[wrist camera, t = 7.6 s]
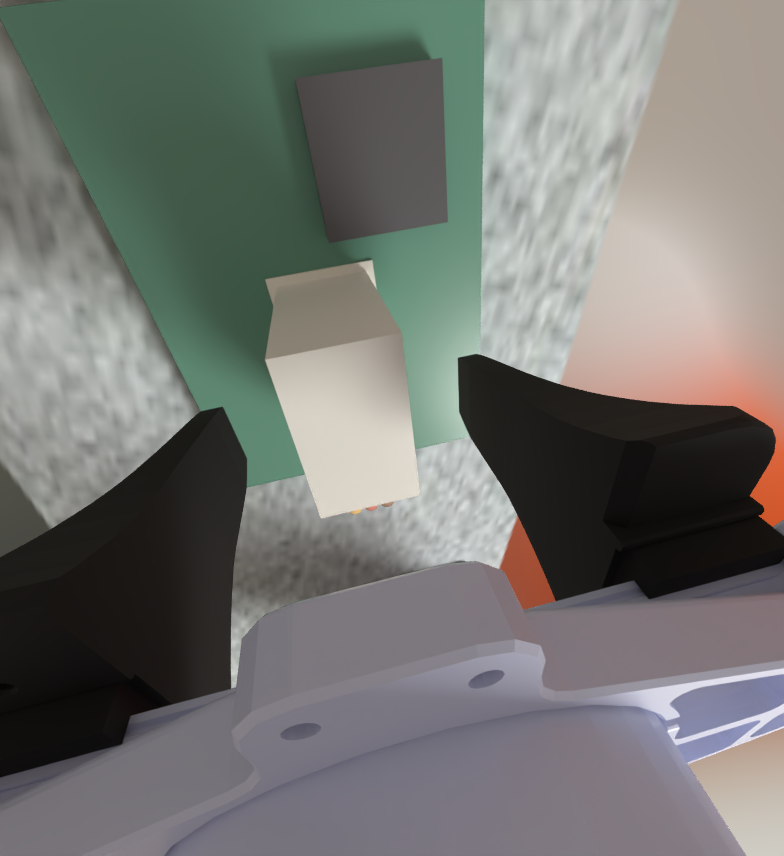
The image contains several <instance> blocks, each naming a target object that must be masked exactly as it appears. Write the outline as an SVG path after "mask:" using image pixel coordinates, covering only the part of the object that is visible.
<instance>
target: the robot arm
mask: <svg viewBox="0 0 784 856" xmlns="http://www.w3.org/2000/svg"><path fill="white" fill-rule="evenodd" d="M458 391H459V413H460V415H461V418H462V420H463V422H464V425H465V427H466V429H467V431H468V433H469V435H470V437H471V439H472V440H473V442H474V444H475V445H476V447H477V448H478V450H479V451H480V453H481V455H482V456H483V458H484V459H485V461H486V462H487V464H488V465H489V467H490V468H491V470H492V471H493V473H494V474H495V476H496V477H497V479H498V481H499V482H500V484H501V485H502V487H503V488H504V490H505V492H506V494H507V495H508V497H509V499H510V501H511V503H512V505H513V507H514V509H515V511H516V513H517V515H518V517H519V519H520V521H521V523H522V525H523V527H524V529H525V531H526V534H527V536H528V538H529V540H530V542H531V544H532V547H533V549H534V551H535V553H536V555H537V558H538V560H539V562H540V565H541V567H542V569H543V571H544V574H545V576H546V578H547V581H548V583H549V585H550V588H551V590H552V593H553V595H554V598H555V600H556V601H555V602H552V603H548V604H544V605H540V606H537V607H533V608H529V609H526V610H523V609H522V607H521V605H520V603H519V601H518V599H517V597H516V595H515V593H514V591H513V589H512V587H511V585H510V583H509V581H508V579H507V577H506V575H505V573H504V571H502V570H499V569H497V568H494V567H491V566H489V565H486V564H483V563H480V562H476V561H471V562H460V563H449V564H443V565H439V566H435V567H431V568H427V569H423V570H419V571H415V572H411V573H407V574H403V575H399V576H395V577H391V578H387V579H383V580H380V581H376V582H372V583H368V584H364V585H360V586H356V587H352V588H348V589H344V590H340V591H336V592H332V593H328V594H324V595H320V596H317V597H313V598H309V599H305V600H301V601H297V602H294V603H291V604H289V605H287V606H284V607H282V608H280V609H277V610H275V611H273V612H270V613H268V614H266V615H264V616H263V617H262V618H260V619H259V620H258V621H257V622H256V624H255V625H254V626H253V627H252V628H251V629H250V630H249V631H248V633H247V634H246V635H245V636H244V637H243V638H242V642H241V651H240V659H239V668H238V676H237V685H236V688H232V689H231V606H232V584H233V567H234V558H235V551H236V545H237V539H238V534H239V528H240V523H241V518H242V512H243V506H244V501H245V495H246V488H247V457H246V455H245V453H244V451H243V449H242V447H241V444H240V442H239V440H238V438H237V436H236V434H235V431H234V429H233V427H232V425H231V423H230V421H229V418H228V416H227V414H226V412H225V410H224V408H223V407H218V408H214V409H209V410H204V411H201V412H200V413H199V414H197V415H196V416H195V417H194V418H192V419H191V420H190V421H189V422H188V423H187V424H186V425H185V426H184V427H183V428H182V429H180V430H179V431H178V432H177V433H176V434H175V435H174V436H173V437H172V438H171V439H170V440H169V441H168V442H167V443H166V444H164V445H163V446H162V447H161V448H160V449H159V450H158V451H157V452H156V453H155V454H153V455H152V456H151V457H150V458H149V459H148V460H147V461H145V462H144V463H143V464H142V465H141V466H140V467H138V468H137V469H136V470H135V471H134V472H133V473H132V474H130V475H129V476H128V477H127V478H125V479H124V480H123V481H122V482H120V483H119V484H118V485H116V486H115V487H114V488H112V489H111V490H110V491H108V492H107V493H105V494H104V495H103V496H101V497H100V498H99V499H97V500H96V501H94V502H93V503H91V504H90V505H88V506H87V507H85V508H84V509H82V510H81V511H79V512H77V513H76V514H74V515H73V516H71V517H70V518H68V519H66V520H65V521H63V522H62V523H60V524H58V525H57V526H55V527H54V528H52V529H50V530H49V531H47V532H45V533H44V534H42V535H40V536H38V537H37V538H35V539H33V540H31V541H30V542H28V543H26V544H24V545H22V546H20V547H19V548H17V549H15V550H13V551H11V552H9V553H7V554H6V555H4V556H2V557H0V856H746V855H745V853H744V851H743V850H742V848H741V847H740V845H739V844H738V842H737V841H736V839H735V837H734V836H733V834H732V833H731V831H730V829H729V828H728V826H727V825H726V823H725V822H724V820H723V818H722V817H721V815H720V814H719V813H718V811H717V809H716V807H715V806H714V804H713V803H712V801H711V800H710V798H709V797H708V795H707V793H706V792H705V790H704V789H703V787H702V786H701V784H700V782H699V781H698V780H697V778H696V776H695V775H694V773H693V772H692V770H691V768H690V767H689V765H688V764H690V763H692V762H695V761H697V760H700V759H703V758H705V757H708V756H711V755H713V754H716V753H719V752H721V751H723V750H726V749H729V748H731V747H734V746H737V745H740V744H742V743H745V742H747V741H750V740H753V739H755V738H758V737H761V736H763V735H766V734H769V733H771V732H774V731H776V730H779V729H782V728H784V520H783V521H781V522H779V523H778V524H776V525H775V526H774V527H772V526H771V525H769V524H768V523H767V522H765V521H764V520H763V519H762V518H760V517H759V516H758V515H761V514H762V513H763V512H764V508H763V506H762V505H761V504H760V503H758V502H757V501H756V500H754V499H753V498H751V497H750V494H751V492H752V491H753V489H754V488H755V486H756V484H757V483H758V481H759V479H760V478H761V476H762V474H763V473H764V471H765V470H766V468H767V466H768V464H769V463H770V460H771V458H772V456H773V454H774V449H775V443H776V438H775V435H774V432H773V429H772V428H770V427H769V426H768V425H766V424H765V423H763V422H761V421H759V420H758V419H756V418H754V417H753V416H751V415H749V414H748V413H746V412H744V411H742V410H741V409H739V408H737V407H734V406H713V405H712V406H711V405H682V404H669V403H658V402H647V401H640V400H632V399H631V400H630V399H625V398H619V397H613V396H607V395H601V394H596V393H591V392H587V391H583V390H579V389H575V388H571V387H567V386H564V385H560V384H557V383H554V382H551V381H548V380H545V379H542V378H539V377H536V376H533V375H531V374H528V373H525V372H523V371H520V370H518V369H515V368H513V367H510V366H508V365H505V364H503V363H501V362H498V361H496V360H493V359H491V358H488V357H485V356H482V355H479V354H473V355H468V356H463V357H459V358H458Z"/></svg>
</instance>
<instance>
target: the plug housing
mask: <svg viewBox="0 0 784 856" xmlns="http://www.w3.org/2000/svg"><path fill="white" fill-rule="evenodd" d="M265 361H266V364H267V367H268V370H269V373H270V376H271V378H272V381H273V384H274V387H275V390H276V393H277V395H278V398H279V401H280V404H281V407H282V410H283V412H284V415H285V418H286V421H287V424H288V427H289V429H290V432H291V435H292V438H293V441H294V444H295V446H296V449H297V452H298V455H299V458H300V461H301V463H302V466H303V469H304V472H305V475H306V478H307V481H308V483H309V486H310V489H311V492H312V495H313V498H314V500H315V503H316V506H317V509H318V512H319V515H320V517H321V518H325V517H330V516H334V515H338V514H342V513H347V512H350V513H351V514H358V513H360V512H361V511H362V509H364V508H366V509H367V510H370V511H371V510H375V509H376V508H377V507H378V505H382V506H384V507H389V506H391V505H392V504H393V503H394V501H397V500H402V499H406V498H410V497H414V496H419V495H420V490H419V481H418V472H417V463H416V454H415V446H414V437H413V428H412V419H411V410H410V401H409V393H408V384H407V375H406V366H405V357H404V349H403V340H402V332H401V331H400V329H399V327H398V326H397V324H396V322H395V320H394V319H393V317H392V315H391V313H390V312H389V310H388V308H387V307H386V305H385V303H384V301H383V300H382V298H381V296H380V294H379V293H378V291H377V289H376V288H375V286H374V284H373V282H372V281H371V279H370V277H369V275H368V274H367V272H366V271H362V272H357V273H351V274H346V275H340V276H335V277H329V278H324V279H318V280H313V281H307V282H302V283H296V284H291V285H285V286H280V287H277V288H276V294H275V301H274V307H273V313H272V319H271V325H270V332H269V338H268V344H267V350H266V356H265Z"/></svg>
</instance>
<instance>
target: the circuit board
mask: <svg viewBox="0 0 784 856" xmlns="http://www.w3.org/2000/svg"><path fill="white" fill-rule="evenodd" d="M484 6H485V0H59V1H50V2H42V3H33V4H24V5H16V6H7V7H0V19H1V21H2V23H3V25H4V27H5V29H6V31H7V33H8V35H9V37H10V39H11V41H12V43H13V45H14V47H15V49H16V51H17V53H18V55H19V57H20V58H21V60H22V62H23V64H24V66H25V68H26V70H27V72H28V74H29V76H30V78H31V80H32V82H33V84H34V86H35V88H36V90H37V92H38V94H39V96H40V98H41V100H42V102H43V104H44V105H45V107H46V109H47V111H48V113H49V115H50V117H51V119H52V121H53V123H54V125H55V127H56V129H57V131H58V133H59V135H60V137H61V139H62V141H63V143H64V145H65V147H66V149H67V151H68V152H69V154H70V156H71V158H72V160H73V162H74V164H75V166H76V168H77V170H78V172H79V174H80V176H81V178H82V180H83V182H84V184H85V186H86V188H87V190H88V192H89V194H90V196H91V198H92V199H93V201H94V203H95V205H96V207H97V209H98V211H99V213H100V215H101V217H102V219H103V221H104V223H105V225H106V227H107V229H108V231H109V233H110V235H111V237H112V239H113V241H114V243H115V245H116V246H117V248H118V250H119V252H120V254H121V256H122V258H123V260H124V262H125V264H126V266H127V268H128V270H129V272H130V274H131V276H132V278H133V280H134V282H135V284H136V286H137V288H138V290H139V291H140V293H141V295H142V297H143V299H144V301H145V303H146V305H147V307H148V309H149V311H150V313H151V315H152V317H153V319H154V321H155V323H156V325H157V327H158V329H159V331H160V333H161V335H162V337H163V338H164V340H165V342H166V344H167V346H168V348H169V350H170V352H171V354H172V356H173V358H174V360H175V362H176V364H177V366H178V368H179V370H180V372H181V374H182V376H183V378H184V380H185V382H186V384H187V385H188V387H189V389H190V391H191V393H192V395H193V397H194V399H195V401H196V403H197V405H198V407H199V409H200V411H204V410H209V409H214V408H218V407H223V408H224V410H225V412H226V414H227V416H228V418H229V421H230V423H231V425H232V427H233V429H234V431H235V434H236V436H237V438H238V440H239V442H240V444H241V447H242V449H243V451H244V453H245V455H246V457H247V487H251V486H256V485H260V484H264V483H269V482H273V481H278V480H282V479H286V478H291V477H295V476H300V475H304V474H305V472H304V469H303V466H302V463H301V461H300V458H299V455H298V452H297V449H296V446H295V444H294V441H293V438H292V435H291V432H290V429H289V427H288V424H287V421H286V418H285V415H284V412H283V410H282V407H281V404H280V401H279V398H278V395H277V393H276V390H275V387H274V384H273V381H272V378H271V376H270V373H269V370H268V367H267V364H266V361H265V356H266V350H267V344H268V338H269V332H270V325H271V319H272V313H273V307H274V301H275V294H276V288H277V287H280V286H285V285H291V284H296V283H302V282H307V281H313V280H318V279H324V278H329V277H335V276H340V275H346V274H351V273H357V272H362V271H366V272H367V274H368V275H369V277H370V279H371V281H372V282H373V284H374V286H375V288H376V289H377V291H378V293H379V294H380V296H381V298H382V300H383V301H384V303H385V305H386V307H387V308H388V310H389V312H390V313H391V315H392V317H393V319H394V320H395V322H396V324H397V326H398V327H399V329H400V331H401V332H402V340H403V349H404V357H405V366H406V375H407V384H408V393H409V401H410V410H411V419H412V428H413V437H414V446H415V449H419V448H423V447H427V446H432V445H436V444H441V443H445V442H450V441H454V440H458V439H463V438H467V437H470V435H469V433H468V431H467V429H466V427H465V425H464V422H463V420H462V418H461V415H460V413H459V391H458V358H459V357H463V356H468V355H473V354H479V355H480V324H481V244H482V165H483V85H484Z"/></svg>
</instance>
